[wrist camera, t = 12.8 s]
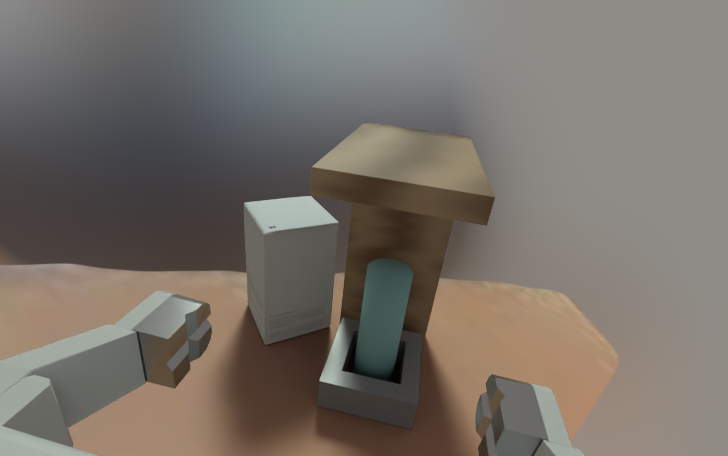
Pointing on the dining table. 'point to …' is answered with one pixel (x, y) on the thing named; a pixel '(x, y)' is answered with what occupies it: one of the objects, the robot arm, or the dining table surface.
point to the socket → (371, 381)
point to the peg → (382, 318)
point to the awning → (402, 205)
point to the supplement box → (289, 266)
